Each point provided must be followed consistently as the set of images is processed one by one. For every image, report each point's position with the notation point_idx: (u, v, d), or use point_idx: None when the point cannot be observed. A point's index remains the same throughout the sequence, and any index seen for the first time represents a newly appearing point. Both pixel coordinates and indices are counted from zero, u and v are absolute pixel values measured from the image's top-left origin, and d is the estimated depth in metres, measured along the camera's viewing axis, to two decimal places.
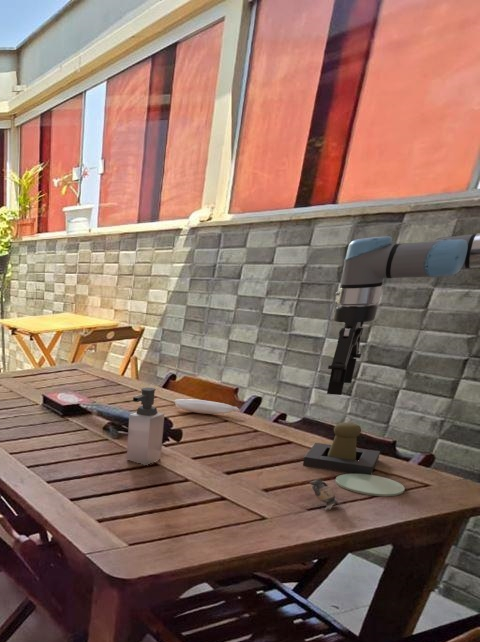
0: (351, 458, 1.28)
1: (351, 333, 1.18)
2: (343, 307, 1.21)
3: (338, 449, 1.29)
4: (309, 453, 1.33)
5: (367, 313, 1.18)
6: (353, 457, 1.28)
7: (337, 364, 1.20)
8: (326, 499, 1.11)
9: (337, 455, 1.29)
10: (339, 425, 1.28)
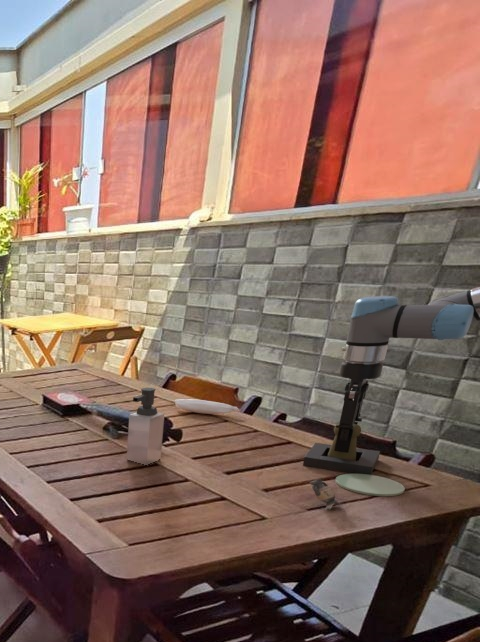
0: (351, 458, 1.28)
1: (356, 396, 1.20)
2: (349, 363, 1.22)
3: None
4: (309, 453, 1.33)
5: (373, 371, 1.19)
6: (353, 457, 1.28)
7: (344, 424, 1.24)
8: (326, 499, 1.11)
9: (337, 455, 1.29)
10: None
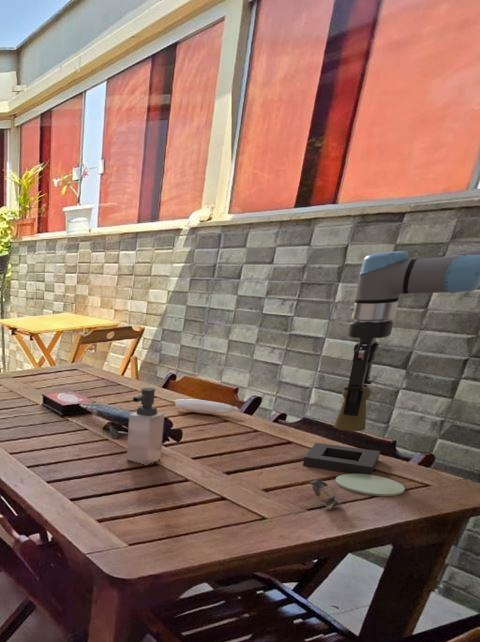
0: (361, 422, 1.24)
1: (366, 356, 1.17)
2: (358, 322, 1.19)
3: None
4: (309, 453, 1.33)
5: (383, 329, 1.16)
6: (363, 421, 1.24)
7: (354, 385, 1.20)
8: (326, 499, 1.11)
9: (346, 419, 1.26)
10: None
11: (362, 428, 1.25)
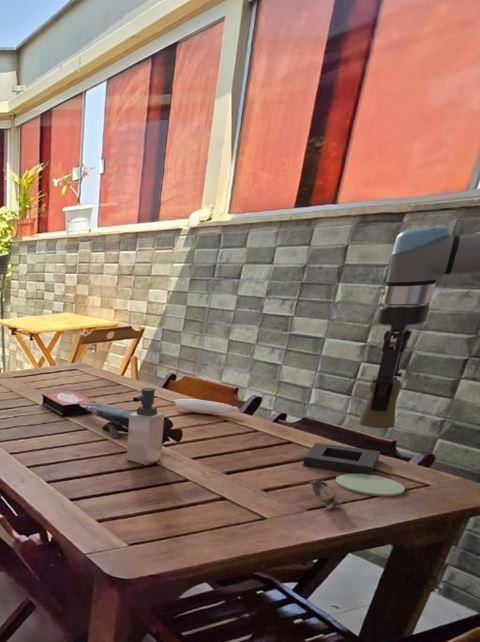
0: (389, 418, 1.13)
1: (398, 344, 1.05)
2: (389, 308, 1.07)
3: None
4: (309, 453, 1.33)
5: (418, 315, 1.04)
6: (392, 417, 1.13)
7: (383, 378, 1.08)
8: (326, 499, 1.11)
9: (373, 415, 1.14)
10: None
11: (391, 425, 1.13)
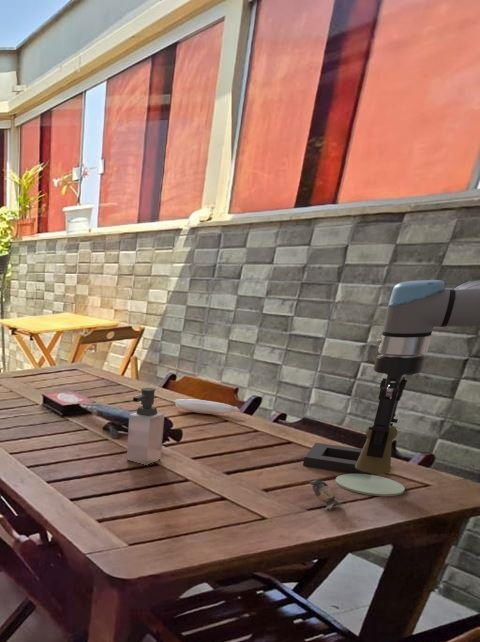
0: (385, 464, 1.14)
1: (394, 394, 1.06)
2: (386, 357, 1.08)
3: None
4: (309, 453, 1.33)
5: (414, 365, 1.05)
6: (388, 463, 1.14)
7: (379, 426, 1.09)
8: (326, 499, 1.11)
9: (369, 460, 1.15)
10: None
11: (387, 471, 1.14)
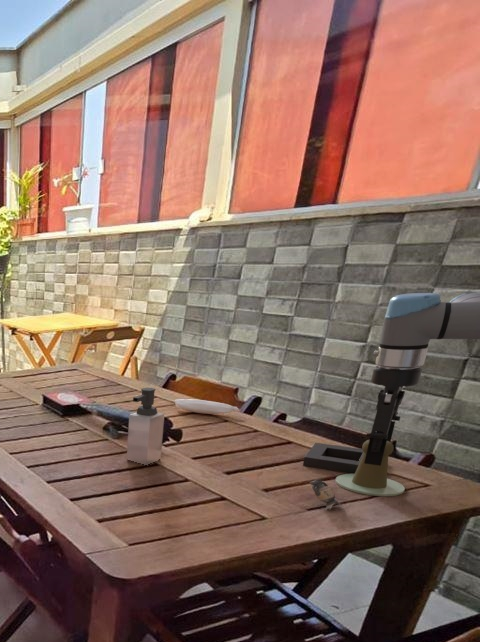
0: (382, 479, 1.15)
1: (393, 399, 1.06)
2: (383, 369, 1.09)
3: (367, 469, 1.16)
4: (309, 453, 1.33)
5: (411, 377, 1.06)
6: (384, 478, 1.15)
7: (377, 433, 1.07)
8: (326, 499, 1.11)
9: (366, 475, 1.16)
10: None
11: (383, 485, 1.15)
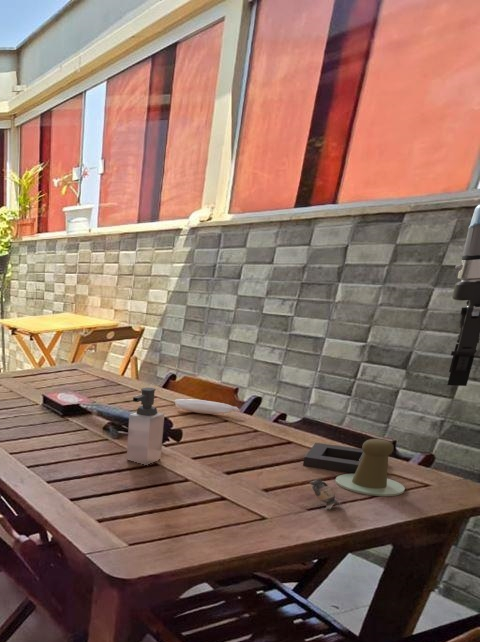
0: (382, 479, 1.15)
1: None
2: (468, 282, 1.03)
3: (367, 469, 1.16)
4: (309, 453, 1.33)
5: None
6: (384, 478, 1.15)
7: (465, 349, 1.01)
8: (326, 499, 1.11)
9: (366, 475, 1.16)
10: (369, 442, 1.15)
11: (383, 485, 1.15)
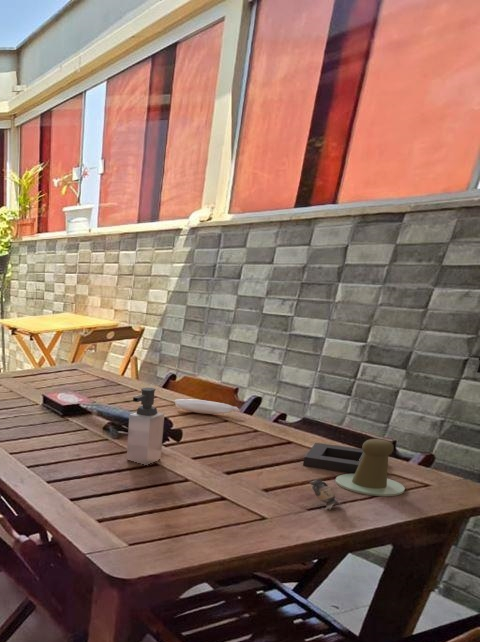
0: (382, 479, 1.15)
1: None
2: None
3: (367, 469, 1.16)
4: (309, 453, 1.33)
5: None
6: (384, 478, 1.15)
7: None
8: (326, 499, 1.11)
9: (366, 475, 1.16)
10: (369, 442, 1.15)
11: (383, 485, 1.15)
